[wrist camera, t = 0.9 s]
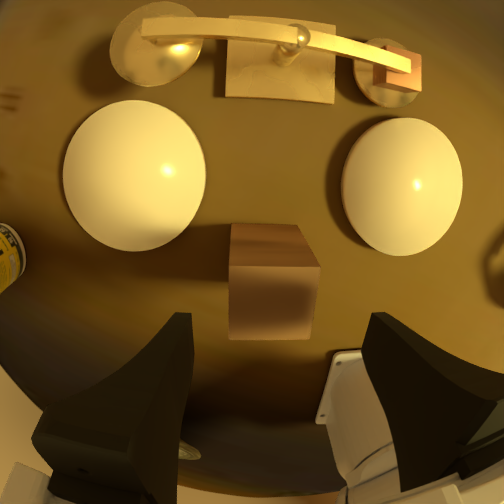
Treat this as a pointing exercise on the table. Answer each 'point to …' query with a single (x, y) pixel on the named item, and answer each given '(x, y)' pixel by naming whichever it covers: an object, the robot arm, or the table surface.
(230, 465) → the table surface
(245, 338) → the block
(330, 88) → the balance
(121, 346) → the table surface
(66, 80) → the table surface
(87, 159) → the cream round disc
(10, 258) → the supplement bottle
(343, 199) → the dish low side
